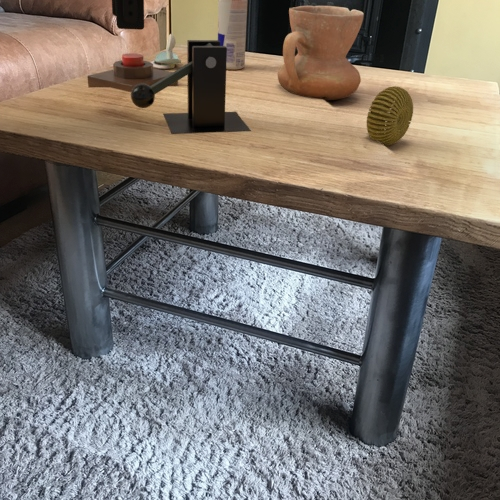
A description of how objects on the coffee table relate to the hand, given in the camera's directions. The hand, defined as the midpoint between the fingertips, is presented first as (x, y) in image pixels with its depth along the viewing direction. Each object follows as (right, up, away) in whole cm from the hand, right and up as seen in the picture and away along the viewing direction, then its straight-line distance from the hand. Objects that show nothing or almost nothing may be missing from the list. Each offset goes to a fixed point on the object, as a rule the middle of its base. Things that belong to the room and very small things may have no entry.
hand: (127, 22), depth 71 cm
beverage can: (+12, +9, +45) cm, 47 cm away
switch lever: (+6, -7, +6) cm, 11 cm away
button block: (-5, 0, +28) cm, 28 cm away
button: (-5, +3, +26) cm, 26 cm away
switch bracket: (+9, -12, +10) cm, 18 cm away
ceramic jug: (+27, -1, +29) cm, 40 cm away
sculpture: (+34, -14, +8) cm, 38 cm away
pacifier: (-2, +8, +42) cm, 43 cm away
